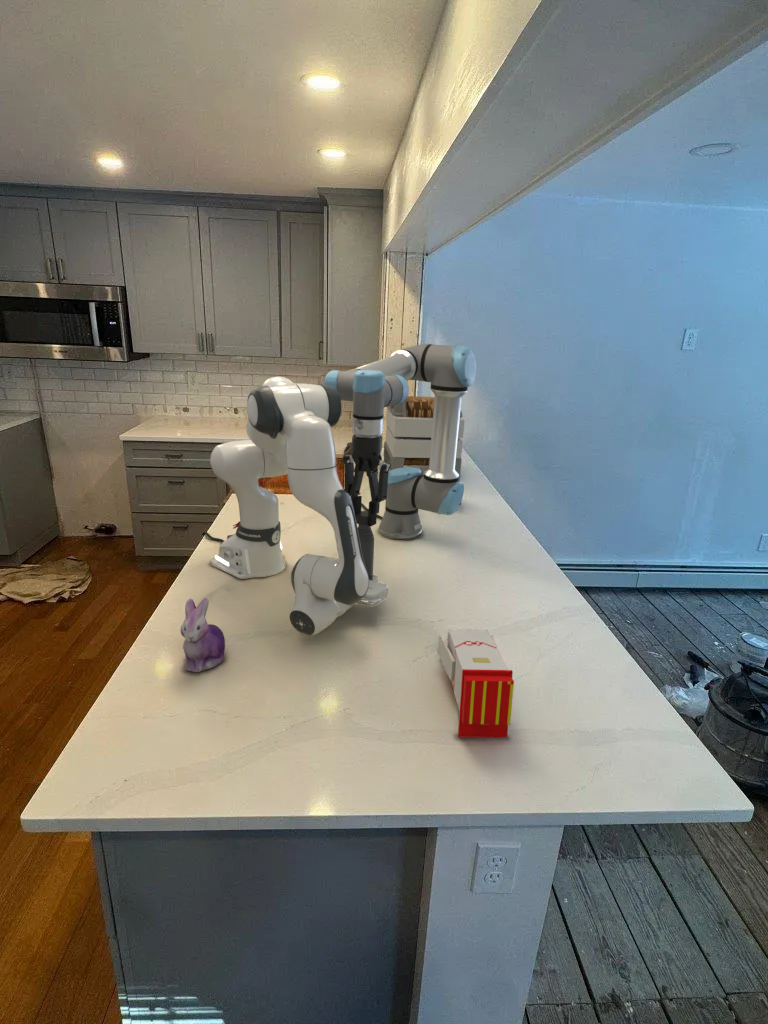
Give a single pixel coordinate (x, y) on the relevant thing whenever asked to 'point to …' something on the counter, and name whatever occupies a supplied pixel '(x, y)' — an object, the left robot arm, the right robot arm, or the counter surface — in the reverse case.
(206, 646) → the figurine
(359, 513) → the cap
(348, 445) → the grey lumpy piece
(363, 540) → the bottle
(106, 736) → the counter surface
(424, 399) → the white wooden crate
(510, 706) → the toy
